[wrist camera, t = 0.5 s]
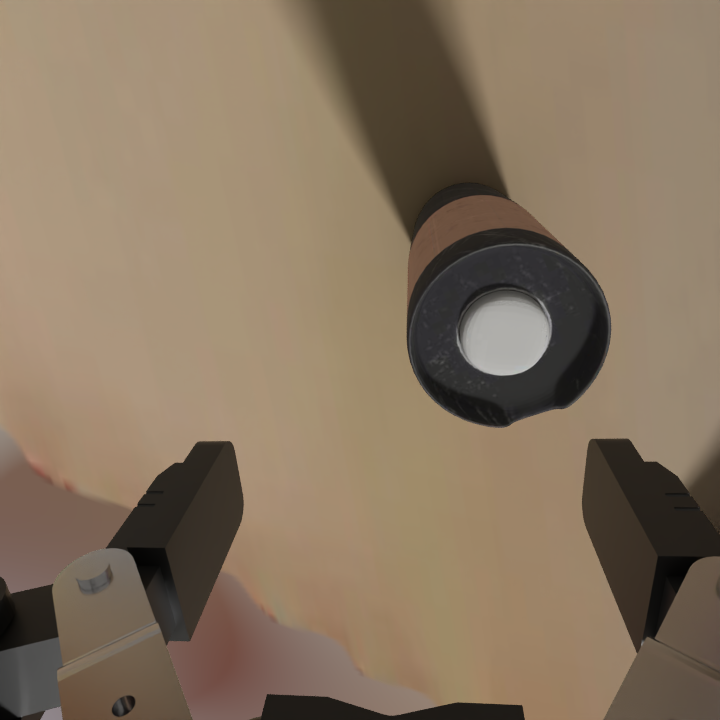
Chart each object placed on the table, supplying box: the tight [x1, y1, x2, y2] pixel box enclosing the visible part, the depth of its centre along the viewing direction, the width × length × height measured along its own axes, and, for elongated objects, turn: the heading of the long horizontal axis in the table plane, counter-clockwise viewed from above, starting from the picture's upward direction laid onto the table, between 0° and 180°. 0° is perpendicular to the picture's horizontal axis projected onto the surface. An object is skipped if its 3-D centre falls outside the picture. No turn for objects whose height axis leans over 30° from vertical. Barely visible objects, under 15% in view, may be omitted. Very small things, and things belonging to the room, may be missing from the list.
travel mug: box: [407, 183, 611, 428], centre depth 30 cm, size 8×8×20 cm
